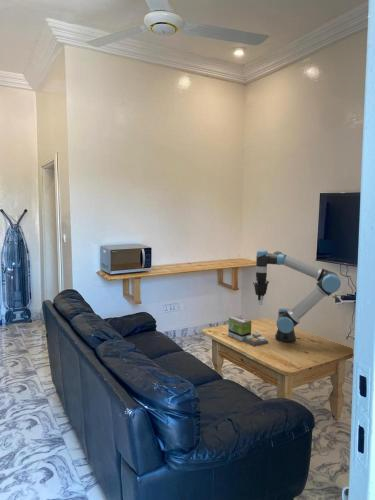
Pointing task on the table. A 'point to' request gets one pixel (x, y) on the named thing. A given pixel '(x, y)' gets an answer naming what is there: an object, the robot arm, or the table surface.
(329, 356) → the table surface
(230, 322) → the tea box
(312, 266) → the robot arm
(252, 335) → the slate key
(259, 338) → the ivory key
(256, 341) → the rust key
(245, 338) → the keypad board
